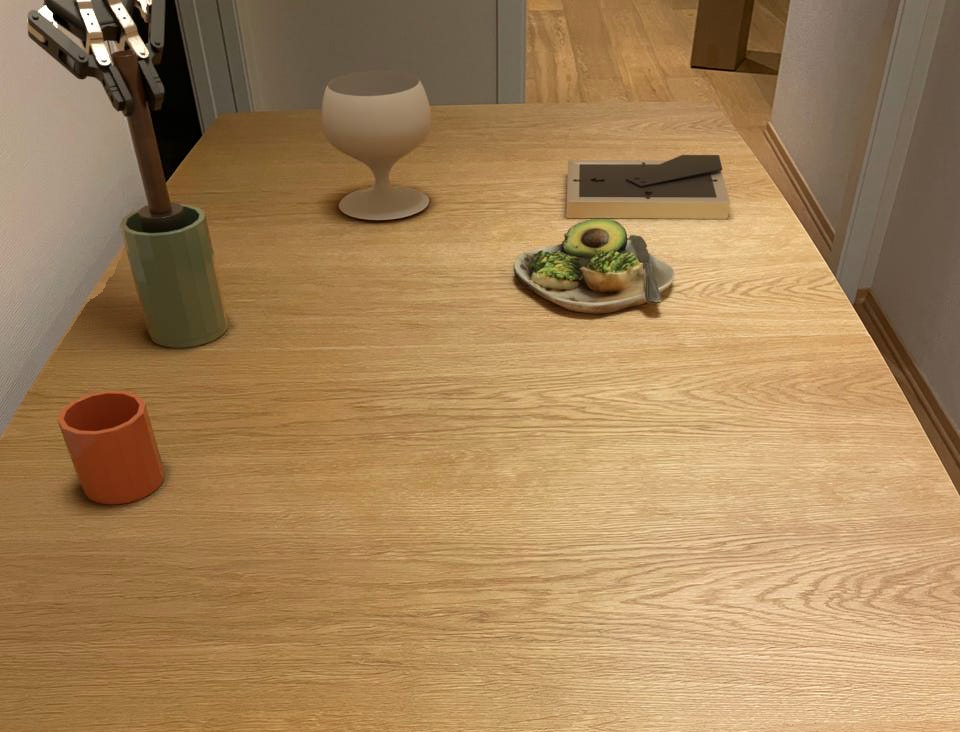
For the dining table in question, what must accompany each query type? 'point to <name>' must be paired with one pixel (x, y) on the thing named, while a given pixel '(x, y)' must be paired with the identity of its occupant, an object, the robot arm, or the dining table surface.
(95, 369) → the dining table surface
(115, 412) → the pot
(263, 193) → the dining table surface
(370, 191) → the chalice
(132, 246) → the sage green cup
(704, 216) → the picture frame
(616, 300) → the avocado toast plate
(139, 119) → the brush
